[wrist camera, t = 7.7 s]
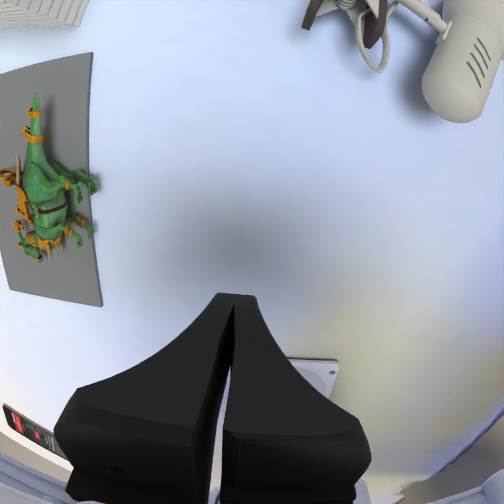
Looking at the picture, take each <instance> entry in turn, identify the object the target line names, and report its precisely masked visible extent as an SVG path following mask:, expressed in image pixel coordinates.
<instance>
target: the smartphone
mask: <svg viewBox="0 0 504 504" xmlns="http://www.w3.org/2000/svg"><path fill="white" fill-rule="evenodd" d="M3 410H4V413H5V417H6V420H7V423H8V425H9V427H11V428H12V429H13V430H15V431H16V432H18V433H20V434H21V435H23V436H24V437H26V438H28V439H29V440H31V441H33V442H34V443H36V444H38V445H40V446H41V447H43V448H45V449H47V450H49V451H50V452H52V453H54V454H56V455H58V456H60V457H62V458H64V459H66V460H68V459H67V457H66V456H65V454H64V453H63V452H62V450H61V448H60V447H59V445H58V443H57V441H56V439H55V437H54V433H52V432H50V431H49V430H47V429H45V428H43V427H42V426H40V425H38V424H36V423H35V422H33V421H31V420H30V419H28V418H27V417H25V416H23V415H22V414H20V413H19V412H17V411H16V410H14V409H12V408H11V407H9V406H8V405H6V404H3ZM68 461H69V460H68Z"/></svg>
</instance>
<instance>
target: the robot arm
mask: <svg viewBox="0 0 504 504" xmlns="http://www.w3.org/2000/svg"><path fill="white" fill-rule="evenodd" d="M230 364H231V380H230V387H229V393H228V400H227V406H226V412H225V418H224V424H223V439H222V477H221V486H220V487H215V488H213V489H212V490H211V491H210V481H211V472H212V463H213V454H214V445H215V436H216V428H217V421H218V416H219V411H220V407H221V403H222V398H223V394H224V390H225V386H226V381H227V377H228V373H229V368H230ZM339 368H340V365H339V363H338V362H337V361H322V360H295V359H287V357H286V356H285V355H284V353H283V352H282V350H281V349H280V348H279V346H278V344H277V343H276V341H275V340H274V338H273V336H272V335H271V333H270V331H269V329H268V327H267V325H266V323H265V321H264V319H263V317H262V314H261V312H260V309H259V307H258V303H257V299H256V298H255V296H252V295H240V294H229V293H217V294H216V295H215V296H214V297H213V299H212V300H211V302H210V303H209V304H208V305H207V307H206V308H205V309H204V310H203V311H202V313H201V314H200V315H199V316H198V317H197V318H196V319H195V320H194V321H193V322H192V323H191V324H190V325H189V326H188V327H187V328H186V329H185V330H184V331H183V332H182V333H181V334H180V335H179V336H178V337H176V338H175V339H174V340H173V341H172V342H170V343H169V344H168V345H167V346H165V347H164V348H163V349H161V350H160V351H158V352H157V353H156V354H154V355H152V356H151V357H149V358H148V359H146V360H144V361H143V362H141V363H139V364H138V365H136V366H134V367H132V368H130V369H128V370H126V371H124V372H121V373H119V374H117V375H114V376H112V377H110V378H107V379H104V380H102V381H99V382H96V383H93V384H90V385H87V386H83V387H80V388H77V390H76V391H75V393H74V394H73V395H72V397H71V398H70V399H69V401H68V403H67V404H66V406H65V408H64V410H63V412H62V414H61V415H60V417H59V419H58V421H57V423H56V425H55V427H54V437H55V439H56V441H57V443H58V445H59V447H60V448H61V450H62V452H63V453H64V454H65V456H66V457H67V459H68V460H69V462H70V463H71V465H72V466H73V467H74V469H73V471H72V474H71V476H70V479H69V481H68V483H65V482H63V481H60V480H58V479H55V478H53V477H50V476H48V475H46V474H43V473H41V472H39V471H37V470H35V469H32V468H30V467H28V466H26V465H24V464H22V463H20V462H18V461H16V460H14V459H12V458H10V457H8V456H7V455H5V454H3V453H1V452H0V504H371V501H370V497H369V493H368V489H367V486H366V484H365V482H364V480H362V479H361V478H360V477H361V476H362V475H363V474H364V472H365V471H366V470H367V468H368V467H369V465H370V463H371V452H370V447H369V444H368V440H367V438H366V436H365V433H364V431H363V428H362V426H361V424H360V422H359V419H358V418H356V417H354V416H353V415H351V414H350V413H348V412H347V411H345V410H343V409H342V408H340V407H339V406H337V405H336V404H334V403H333V402H331V401H330V400H329V397H330V394H331V391H332V389H333V386H334V383H335V380H336V377H337V374H338V371H339ZM330 371H332V372H330ZM209 491H210V493H209ZM427 504H504V469H502V470H500V471H498V472H497V473H495V474H494V475H492V476H491V477H490V478H489V479H488V480H486V482H485V483H484V484H483V485H482V486H480V487H477V488H474V489H472V490H469V491H466V492H463V493H460V494H457V495H454V496H451V497H448V498H444V499H441V500H438V501H435V502H431V503H427Z"/></svg>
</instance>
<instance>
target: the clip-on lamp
mask: <svg viewBox="0 0 504 504" xmlns="http://www.w3.org/2000/svg"><path fill="white" fill-rule="evenodd" d="M398 3H401V4H402V5H403V6H405V7H406V8H408V9H409V10H411V11H412V12H413V13H415V14H416V15H418V16H419V17H420V18H422V19H423V20H424V21H426V22H427V23H428V24H429V25H431V26H432V27H433V28H434V29H436V30H437V31H438V32H439V36H438V38H437V40H436V42H435V44H437V47H436V49H435V51H434V53H433V55H432V57H431V59H430V61H429V64H428V66H427V68H426V70H425V72H424V74H423V76H422V92H423V95H424V98H425V100H426V102H427V103H428V105H429V106H430V108H431V109H432V110H433V111H434V112H435V113H436V114H437V115H439V116H440V117H441V118H443V119H445V120H447V121H450V122H454V123H467V122H471V121H473V120H474V119H476V118H478V117H479V116H480V115H481V113H482V110H483V108H484V105H485V103H486V100H487V97H488V95H489V92H490V89H491V86H492V84H493V81H494V78H495V75H496V72H497V69H498V66H499V63H500V60H502V59H504V0H445V1H444V3H443V10H442V19H443V20H442V19H441V18H440V17H441V16H440V15H439V14H438V13H436V12H435V11H434V10H432V9H431V8H430V7H429V6H427V5H426V4H424V3H423V2H422V1H420V0H395V1H394V2H393V3H392V4H391V6H390V7H389V8H388V10H387V0H311V1H310V4H309V6H308V9H307V12H306V15H305V18H304V21H303V24H302V28H303V29H306V30H310V27H311V25H312V23H313V21H314V19H315V17H318V16H320V15H323V14H326V13H328V12H331V11H334V10H336V9H339V8H341V9H342V10H344V11H346V12H347V14H348V15H349V17H350V19H351V20H352V22H353V24H354V25H355V34H356V41H357V45H358V48H359V51H360V53H361V55H362V57H363V59H364V60H365V61H366V63H367V64H368V65H369V66H370V68H371V69H373V70H374V71H376V72H378V73H382V72H383V71H384V70H385V68H386V65H387V62H388V58H389V51H390V41H389V35H388V32H387V22H388V19H389V17H390V15H391V13H392V12H393V10H394V9H395V7H396V6H397V5H398ZM380 37H381V38H382V43H383V53H382V59H381V63H380V65H379V67H377V68H376V67H375V66H374V65H373V63H372V62H371V60H370V58H369V56H368V54H367V52H366V50H365V48H368V49H370V48H372V46H373V45H374V44H375V43H376V42H377V41H378V39H379V38H380Z"/></svg>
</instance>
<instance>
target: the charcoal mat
mask: <svg viewBox="0 0 504 504" xmlns="http://www.w3.org/2000/svg"><path fill="white" fill-rule="evenodd" d="M92 58H93V53H92V52H89V53H84V54H78V55H73V56H68V57H63V58H59V59H54V60H50V61H46V62H42V63H38V64H34V65H30V66H26V67H23V68H19V69H16V70H13V71H9V72H6V73H3V74H0V170H1V169H3V168H10V169H13V170H15V172H16V170H17V158H16V153H17V155H18V156H19V159H20V163H21V171H23V170H24V162H25V157H26V153H27V146H28V140H26V139H25V137H23V136H22V132H23V130H24V127H25V126H28V127H30V126H31V119H32V118H29V117H27V112H28V108H31V107H33V99H34V96H35V93H36V92H37V93H38V95H39V108H40V112H41V117H40V119H41V131H42V133H43V137H44V141H43V147H44V152H45V154H46V157H47V159H48V160H50V161H52V162H54V163H56V164H57V165H59V166H60V167H61V168H63V169H64V170H65V171H67V172H68V173H70V174H71V172H72V171H73V170H75V169H76V168H77V169H78V170H79V171H81V172H82V173H83V174H84V175H86V176H87V177H89V154H88V129H89V98H90V81H91V69H92ZM31 111H32V110H31ZM27 131H29V132H30V130H27ZM15 152H16V153H15ZM9 174H11V173H5V174H2V175H4V176H8V175H9ZM3 181H4V180H2V179H0V251H1V256H2V260H3V265H4V269H5V273H6V277H7V281H8V285H9V288H10V290H14V291H18V292H23V293H28V294H33V295H37V296H42V297H47V298H52V299H58V300H63V301H68V302H74V303H79V304H85V305H91V306H97V307H102V306H103V302H102V296H101V290H100V284H99V277H98V270H97V263H96V255H95V247H94V237H93V234H92V233H91V238H90V239H89V238H88V231H87V229H85V228H80V226H78V225H76V223H75V222H72V223H71V224H70V225H69V227H71V228H73V229H74V230H75V232H76V233H77V234H79V235H80V236H81V238H82V242H83V245H82V247H80V246H79V247H78V248H77V247H76V239H75V238H74V237H69V235H66V234H65V232H64V231H62V234H61V241H62V243H63V249H62V251H61V247H60V246H59V245H57V246H56V247H55V248H54V249H52V257H51V260H50V262H49V256H48V253H47V250H44V249H40V248H39V253H40V254H42V255H43V261H42V263H38V262H36V261H35V259H34V258H33V257H32V256H28V255H26V254H25V253H24V250H23V247H18V243H19V242H21V240H20V238H19V236H18V234H17V233H16V230H15V229H14V227H13V223H15V219H16V218H17V221H18V220H20V221H21V223H22V224H23V225H24V230H21V234H22V237H23V238H24V239H25V236H26V234H27V232H30V231H33V230H35V229H34V227H33V225H30V224H29V222H28V221H27V220H25V219H24V218H22V217H21V215H20V214H19V215H17V211H16V207H15V206H17V205H19V203H18V194H17V192H16V186H15V185H11V187H10V188H9V187H4V186H3ZM79 182H81V181H80V180H77V181H76V183H75V184H77V183H79ZM81 183H82V182H81ZM79 188H80V189H81V194H82V196H83V200H82V201H81V203H80V204H77V205H75V204H74V201H75V191H74V190H68V191H66V192H64V195H65V198H66V201H67V205H68V207H67V213H66V216H69V215H71V214H72V213H74V214H75V216H79V217H80V218H81V219H83V220H84V221H85V222H86V224H87V225H88V226H90V227H91V228H92V230H93V227H92V216H91V203H90V196H88V187H87V186H86V185H85V184H84V183H82V185H81V186H79ZM21 245H22V244H21Z"/></svg>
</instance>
